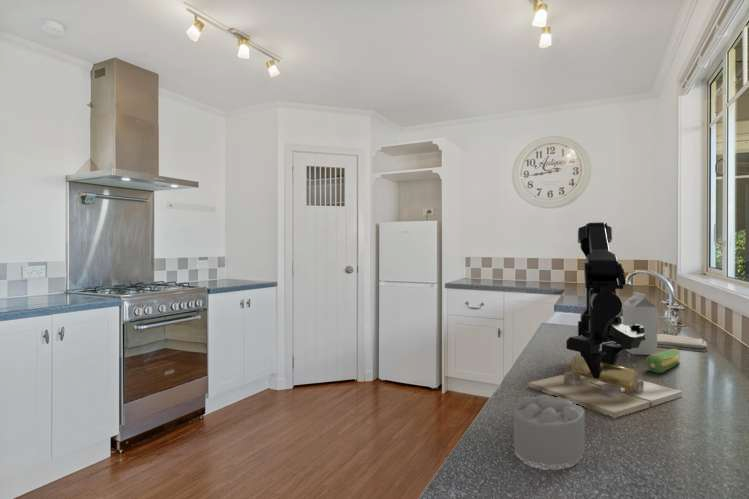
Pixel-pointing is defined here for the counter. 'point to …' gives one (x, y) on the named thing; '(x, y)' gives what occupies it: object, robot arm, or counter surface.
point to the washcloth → (681, 342)
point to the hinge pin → (607, 373)
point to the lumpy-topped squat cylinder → (549, 429)
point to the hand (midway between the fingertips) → (602, 377)
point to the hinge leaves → (605, 393)
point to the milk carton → (642, 322)
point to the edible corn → (662, 360)
